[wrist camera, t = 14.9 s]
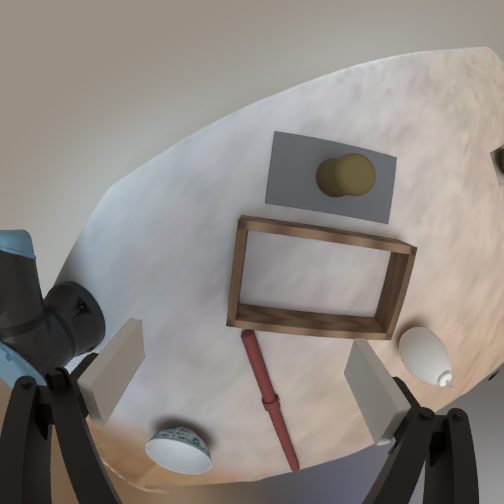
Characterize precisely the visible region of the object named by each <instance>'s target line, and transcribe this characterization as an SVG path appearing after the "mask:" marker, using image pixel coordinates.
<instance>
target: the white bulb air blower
mask: <svg viewBox="0 0 504 504" xmlns="http://www.w3.org/2000/svg"><path fill="white" fill-rule="evenodd" d="M399 353H400V357H401V360H402V362H403V364H404V365H405V367H406V368H407V370H408V371H409V372H410V373H411V374H412V375H414V376H415V377H416V378H418V379H419V380H421V381H423V382H426V383H429V384H433V385H439V386H441V387H443V386H445V385H448V386H449V387H450V388H451V389H452V390H454V388H453V386H452V385H451V384H450V380H451V378H452V374H451V372H450V370H451V366H450V359H449V355H448V352H447V350H446V348H445V346H444V344H443V342H442V341H441V339H440V338H439V337H438V336H437V335H436V334H435V333H434V332H432V331H431V330H429V329H427V328H424V327H413V328H411V329H409V330H407V331H406V332H405V333H404V334H403V335H402V336H401V338H400V341H399Z"/></svg>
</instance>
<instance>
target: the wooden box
mask: <svg viewBox="0 0 504 504" xmlns="http://www.w3.org/2000/svg"><path fill="white" fill-rule="evenodd" d="M248 230H252V231H259V232H266V233H274V234H281V235H288V236H295V237H302V238H309V239H315V240H322V241H329V242H335V243H342V244H348V245H355V246H361V247H367V248H373V249H380V250H386V251H391V256H390V261H389V265H388V269H387V273H386V277H385V281H384V285H383V289H382V293H381V297H380V300H379V304H378V307H377V311H376V314H375V317H374V318H370V317H356V316H343V315H332V314H321V313H311V312H302V311H293V310H284V309H276V308H267V307H260V306H252V305H245V304H239V297H240V289H241V281H242V274H243V266H244V258H245V250H246V242H247V235H248ZM416 252H417V247H414V246H412V245H410V244H407V243H405V242H402V241H400V240H395V239H390V238H384V237H379V236H373V235H367V234H362V233H356V232H350V231H344V230H338V229H332V228H325V227H319V226H313V225H306V224H300V223H293V222H286V221H279V220H272V219H265V218H257V217H250V216H241V217H240V218H239V220H238V228H237V236H236V244H235V253H234V261H233V270H232V278H231V287H230V296H229V305H228V314H227V323H226V326H229V327H236V328H243V329H251V330H259V331H267V332H276V333H285V334H295V335H305V336H317V337H331V338H346V339H354V338H365V339H367V340H391V338H392V335H393V333H394V330H395V327H396V324H397V321H398V318H399V315H400V312H401V308H402V305H403V302H404V299H405V295H406V292H407V288H408V284H409V281H410V277H411V273H412V269H413V265H414V260H415V256H416Z"/></svg>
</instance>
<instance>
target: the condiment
mask: <svg viewBox="0 0 504 504" xmlns="http://www.w3.org/2000/svg"><path fill="white" fill-rule="evenodd" d="M491 156H492V159H493V163H494V166H495V169H496V173H497V176H498V180H499V183H500V186H501V185H502V184H504V145H503V146H501V147H500V148H498V149H497V150H495V151H494V152H492V153H491ZM501 173H503V174H501Z"/></svg>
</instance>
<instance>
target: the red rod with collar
mask: <svg viewBox="0 0 504 504" xmlns="http://www.w3.org/2000/svg"><path fill="white" fill-rule="evenodd" d="M241 338H242V341H243V344H244V347H245V349H246V352H247V355H248V358H249V361H250V364H251V366H252V369H253V372H254V375H255V377H256V380H257V383H258V386H259V388H260V391H261V394H262V396H263V398H262V403H263V406H264V408H265V410H266V411H268V412H269V415H270V417H271V420H272V423H273V425H274V428H275V430H276V433H277V435H278V438H279V440H280V443H281V445H282V448H283V450H284V453H285V455H286V458H287V460H288V463H289V465H290V467H291V470H292V471H298V470H299V469H300V466H299V464H298V461H297V458H296V455H295V452H294V450H293V447H292V444H291V441H290V438H289V436H288V433H287V430H286V427H285V424H284V421H283V418H282V415H281V413H280V410H279V407H280V402H279V399H278V397H277V395H276V394H274V392H273V389H272V386H271V383H270V380H269V377H268V374H267V371H266V368H265V365H264V362H263V359H262V356H261V353H260V350H259V347H258V343H257V340H256V337H255V334H254V332H253V331H251V330H247V331H244V332H243V333H242V334H241Z"/></svg>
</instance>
